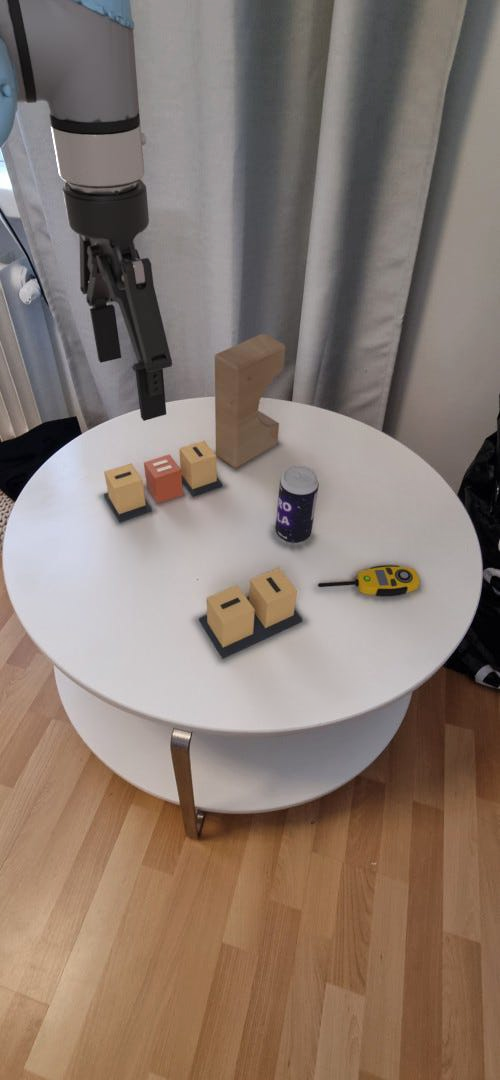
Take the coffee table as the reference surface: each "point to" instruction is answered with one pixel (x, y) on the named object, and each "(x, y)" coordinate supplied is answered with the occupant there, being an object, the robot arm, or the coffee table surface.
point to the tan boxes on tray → (250, 613)
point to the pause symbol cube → (163, 478)
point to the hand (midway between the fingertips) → (130, 386)
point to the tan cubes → (129, 485)
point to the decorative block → (245, 398)
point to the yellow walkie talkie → (383, 581)
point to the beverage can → (296, 503)
